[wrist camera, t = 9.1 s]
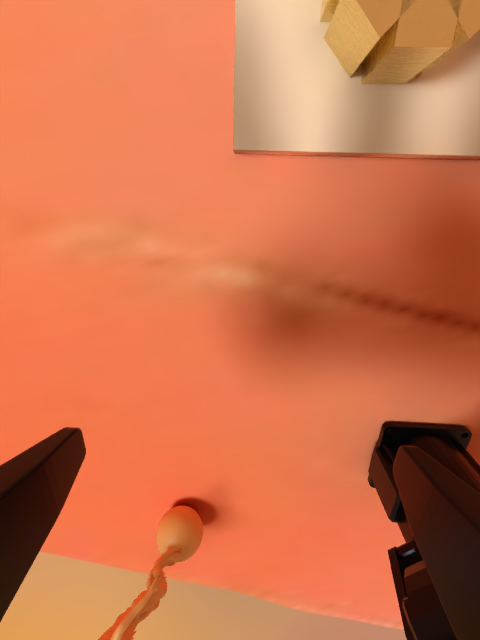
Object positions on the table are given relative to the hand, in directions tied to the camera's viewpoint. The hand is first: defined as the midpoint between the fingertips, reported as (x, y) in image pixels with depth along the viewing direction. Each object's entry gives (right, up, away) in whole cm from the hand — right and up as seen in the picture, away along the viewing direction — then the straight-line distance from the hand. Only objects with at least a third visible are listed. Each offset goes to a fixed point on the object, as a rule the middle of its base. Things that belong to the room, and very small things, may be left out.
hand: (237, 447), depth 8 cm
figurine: (-6, -14, +19) cm, 24 cm away
